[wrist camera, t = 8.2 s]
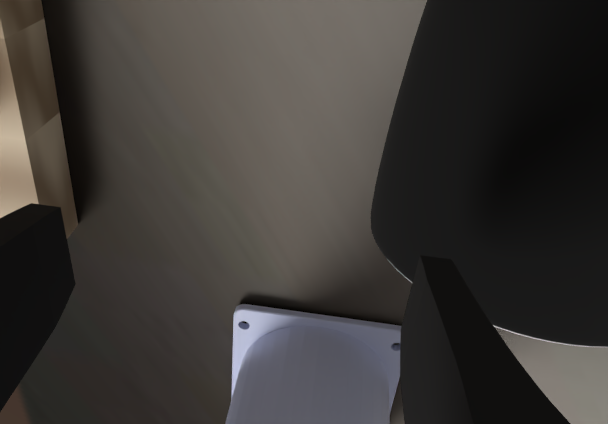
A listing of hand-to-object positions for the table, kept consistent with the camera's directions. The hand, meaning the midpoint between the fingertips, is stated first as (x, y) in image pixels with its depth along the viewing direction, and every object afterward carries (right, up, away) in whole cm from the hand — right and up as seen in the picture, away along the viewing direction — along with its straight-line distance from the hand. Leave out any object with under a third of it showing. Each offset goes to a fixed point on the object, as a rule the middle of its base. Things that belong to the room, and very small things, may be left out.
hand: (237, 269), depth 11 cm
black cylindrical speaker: (+10, +9, +1) cm, 14 cm away
